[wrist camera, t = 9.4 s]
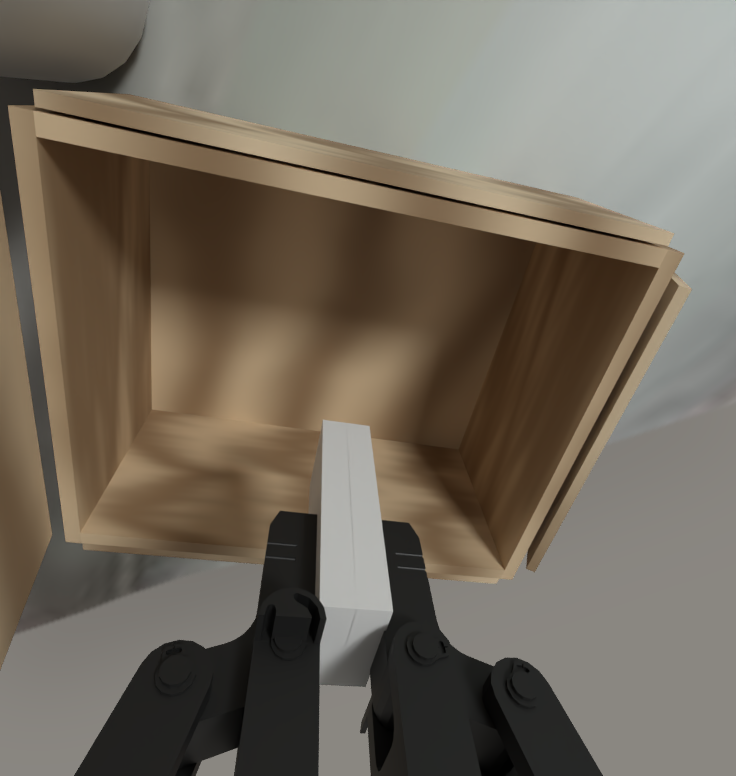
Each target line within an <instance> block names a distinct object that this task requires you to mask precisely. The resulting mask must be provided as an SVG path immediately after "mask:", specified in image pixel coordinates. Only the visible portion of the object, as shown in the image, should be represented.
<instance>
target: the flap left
mask: <svg viewBox="0 0 736 776" xmlns="http://www.w3.org/2000/svg"><path fill="white" fill-rule="evenodd" d="M51 537H52V530H51V524H50V517H49V510H48V504H47V497H46V491H45V484H44V477H43V471H42V464H41V457H40V451H39V444H38V437H37V431H36V424H35V418H34V411H33V404H32V398H31V391H30V384H29V378H28V371H27V364H26V358H25V351H24V345H23V338H22V331H21V325H20V318H19V311H18V305H17V298H16V291H15V285H14V278H13V272H12V265H11V258H10V252H9V245H8V238H7V232H6V225H5V218H4V212H3V205H2V199H1V192H0V669H1V667H2V664H3V661H4V659H5V656H6V654H7V651H8V648H9V646H10V643H11V641H12V638H13V635H14V633H15V630H16V628H17V625H18V622H19V620H20V617H21V615H22V612H23V609H24V607H25V604H26V602H27V599H28V596H29V594H30V591H31V589H32V586H33V583H34V581H35V578H36V576H37V573H38V570H39V568H40V565H41V563H42V560H43V557H44V555H45V552H46V550H47V547H48V544H49V542H50V539H51Z"/></svg>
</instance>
